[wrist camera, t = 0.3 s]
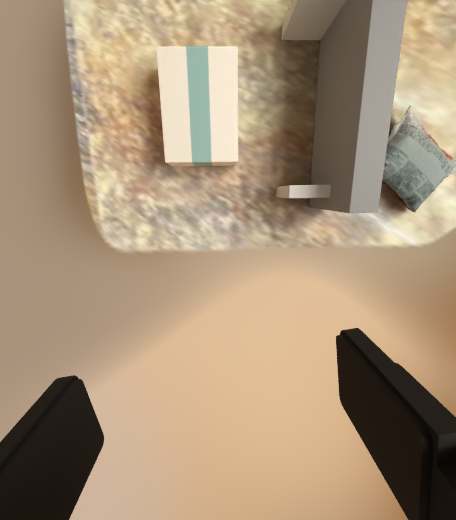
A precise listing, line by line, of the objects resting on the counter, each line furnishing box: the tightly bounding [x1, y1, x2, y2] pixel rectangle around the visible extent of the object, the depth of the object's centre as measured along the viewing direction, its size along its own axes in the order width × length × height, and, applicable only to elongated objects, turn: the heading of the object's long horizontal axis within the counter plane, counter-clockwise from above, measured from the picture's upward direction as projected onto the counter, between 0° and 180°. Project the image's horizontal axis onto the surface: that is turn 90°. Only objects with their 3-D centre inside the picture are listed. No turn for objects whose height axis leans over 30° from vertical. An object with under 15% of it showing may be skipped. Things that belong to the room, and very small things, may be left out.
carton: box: [156, 46, 238, 167], centre depth 31 cm, size 12×9×5 cm
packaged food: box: [382, 106, 456, 212], centre depth 34 cm, size 9×12×5 cm
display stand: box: [276, 0, 407, 213], centre depth 28 cm, size 24×8×12 cm, turn 1°
